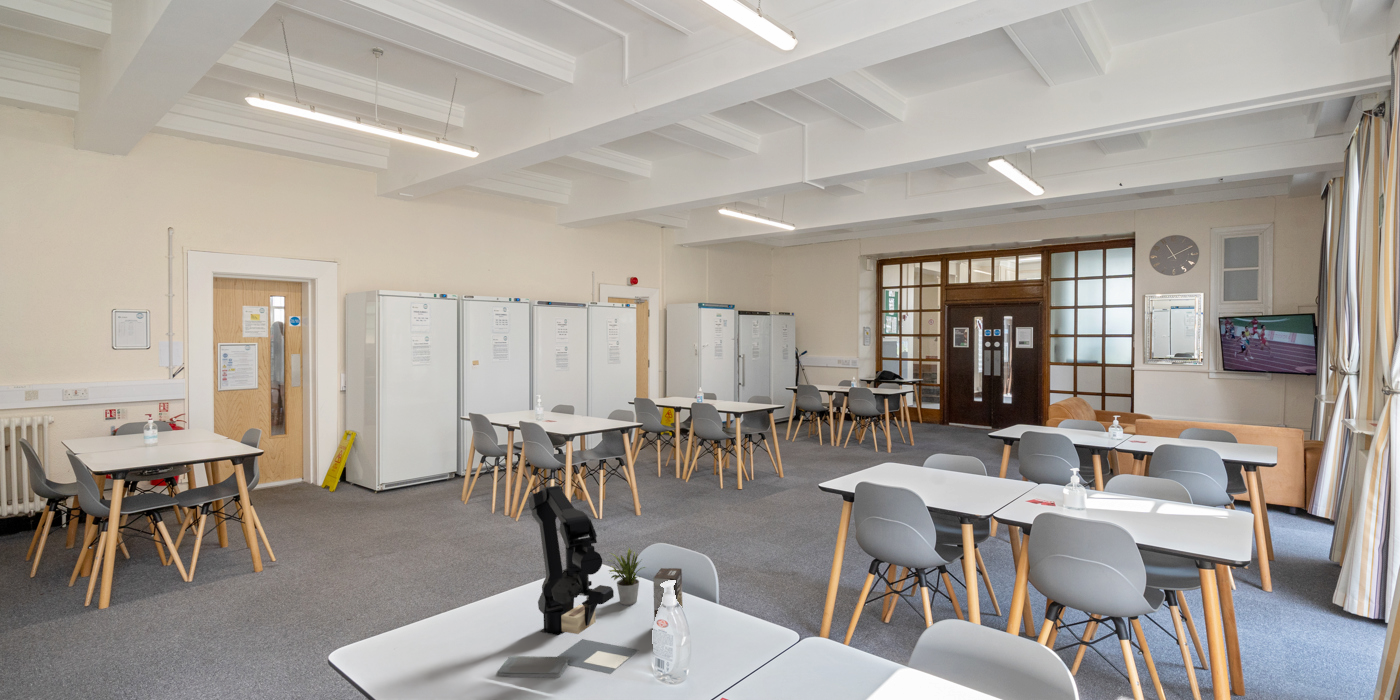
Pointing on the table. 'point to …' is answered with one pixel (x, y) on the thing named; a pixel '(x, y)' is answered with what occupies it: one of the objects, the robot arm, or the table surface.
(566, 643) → the table surface
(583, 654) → the mat
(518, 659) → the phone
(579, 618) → the cream block with stripe
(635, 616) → the table surface
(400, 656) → the table surface
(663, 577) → the coffee box
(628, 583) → the house plant
